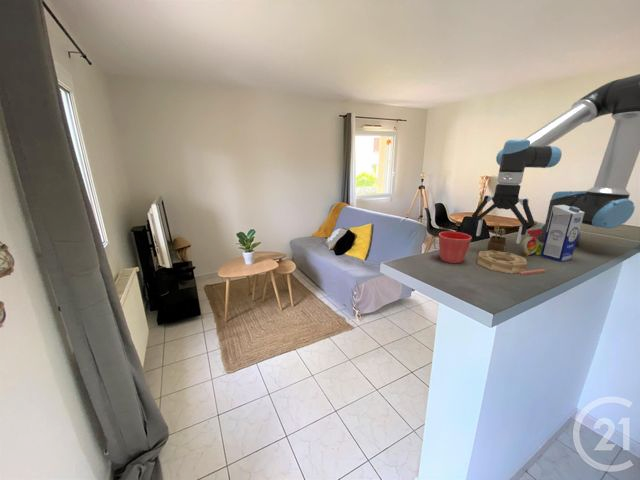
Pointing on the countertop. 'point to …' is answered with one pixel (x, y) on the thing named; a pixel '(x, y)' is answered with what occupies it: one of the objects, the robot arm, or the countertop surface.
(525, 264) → the octagonal ring
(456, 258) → the flower pot
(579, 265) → the countertop surface
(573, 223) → the milk carton
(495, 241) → the utensil holder
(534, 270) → the pink stick
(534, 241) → the bird rattle
